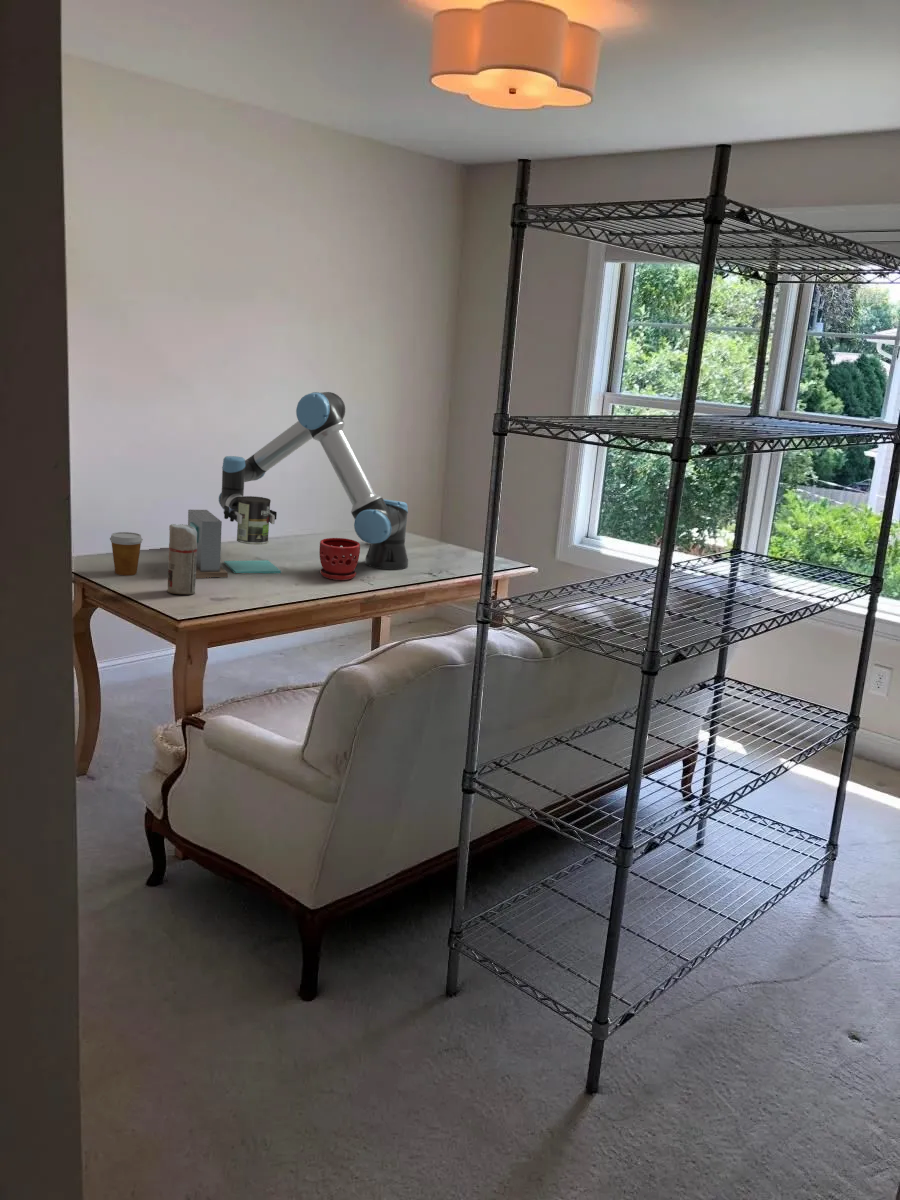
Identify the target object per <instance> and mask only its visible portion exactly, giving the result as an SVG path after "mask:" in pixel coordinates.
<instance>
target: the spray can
mask: <svg viewBox="0 0 900 1200" xmlns="http://www.w3.org/2000/svg"><path fill="white" fill-rule="evenodd" d="M168 530H169V535H168V536H169V542H168V558H167V559H168V566H167V570H168V571H167V589H166V592H168V593H169V594H174V595H193V594H196V581H197V580H196V579H197V578H196V561H197V531H196V529H195V528H194V527H191V526H188V524H182V523H181V524H176V523H172V524H170V525H169V529H168Z"/></svg>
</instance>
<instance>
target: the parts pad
mask: <svg viewBox="0 0 900 1200" xmlns="http://www.w3.org/2000/svg"><path fill="white" fill-rule="evenodd" d="M224 563H225V564H226V565H227V566H228V567H229V568H230V571H231V572H233V574H235V573H263V574H282V569H280V568H279V567H277V566H275V564H273V563H272V562H271V561H269V560H268V559H267V560H266V559H264V560H258V559H257V560H224V561H223V564H224ZM225 564H224V565H225ZM226 565H225V566H226ZM227 566H226V567H227Z"/></svg>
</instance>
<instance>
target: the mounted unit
mask: <svg viewBox="0 0 900 1200" xmlns="http://www.w3.org/2000/svg"><path fill="white" fill-rule="evenodd" d="M187 514H188V515H187V525H188V526H191V527H194V528H195V529H196V531H197V561H196V579H212V578H211V577H228V576H229V573H228V571H226V570H225V569H224V567H222V566H221V554H222V553H221V552H222V550H221V549H222V520H220V518H218V517H217V516H215V515H214V514H213V513H212V512H210V511H209V510H208V509H188V510H187ZM206 577H207V578H206ZM209 577H210V578H209Z"/></svg>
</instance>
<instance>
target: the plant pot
mask: <svg viewBox="0 0 900 1200" xmlns="http://www.w3.org/2000/svg"><path fill="white" fill-rule="evenodd" d="M360 553H361V543H360V542H359V541H356V540H353V539H349V538H344V537H328V538H323V539H321V540H320V542H319V562H320V564H321V569H320V574H321V575H322V577H324V578H325V579H328V580H332V579H333V581H334V580H335V581H347V580H352V579H353V578H355V576H356V575H357V572H356V571H355V569H356V567H357V565H358V563H359V558H360Z"/></svg>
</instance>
